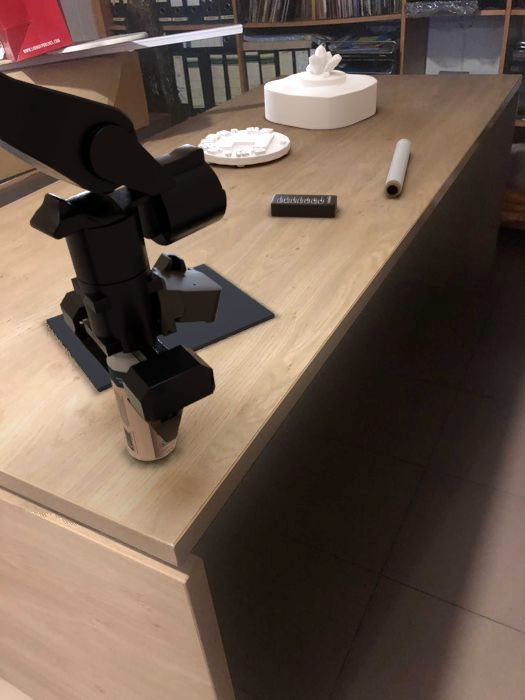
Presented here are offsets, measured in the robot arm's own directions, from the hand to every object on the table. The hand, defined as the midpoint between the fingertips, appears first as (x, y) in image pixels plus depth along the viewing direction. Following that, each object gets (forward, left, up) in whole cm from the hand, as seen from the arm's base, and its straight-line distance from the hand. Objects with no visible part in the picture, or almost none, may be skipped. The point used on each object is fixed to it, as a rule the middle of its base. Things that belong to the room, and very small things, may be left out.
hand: (148, 413), depth 56 cm
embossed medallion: (+56, +69, -4) cm, 89 cm away
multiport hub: (+46, +35, -4) cm, 58 cm away
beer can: (0, 0, -4) cm, 4 cm away
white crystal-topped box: (+88, +82, -4) cm, 121 cm away
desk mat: (+11, +20, -4) cm, 24 cm away
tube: (+71, +38, -4) cm, 80 cm away
